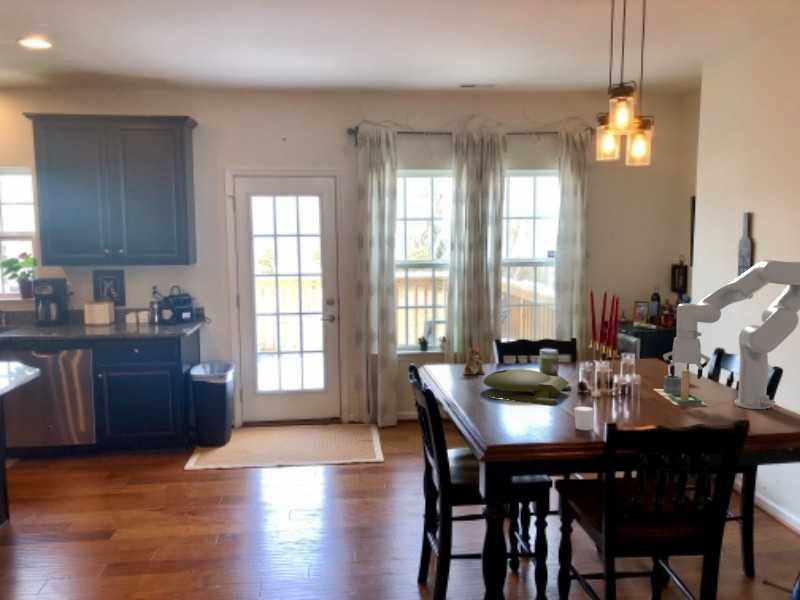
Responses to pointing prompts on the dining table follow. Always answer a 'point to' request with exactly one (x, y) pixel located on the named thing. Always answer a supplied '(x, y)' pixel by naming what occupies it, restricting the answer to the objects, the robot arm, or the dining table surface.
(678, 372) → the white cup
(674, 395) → the stand
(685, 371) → the dowel
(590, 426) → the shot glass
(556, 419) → the dining table surface
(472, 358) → the stuffed squirrel
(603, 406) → the dining table surface
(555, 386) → the spaceship
